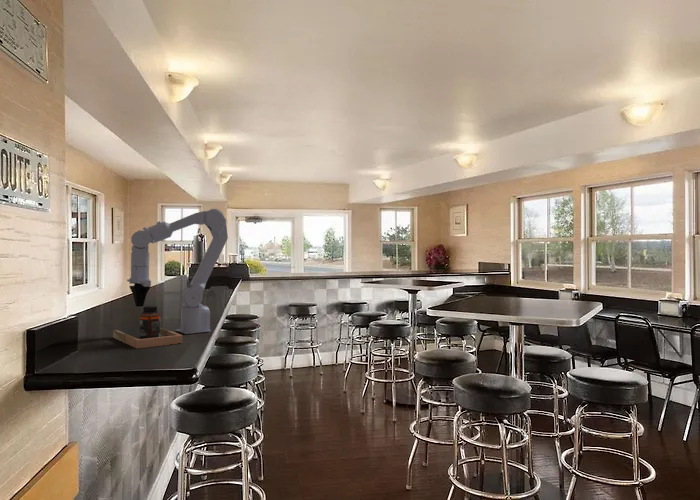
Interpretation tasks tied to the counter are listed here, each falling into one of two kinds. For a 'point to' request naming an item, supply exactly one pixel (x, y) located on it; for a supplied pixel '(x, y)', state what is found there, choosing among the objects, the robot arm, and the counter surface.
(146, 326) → the supplement bottle
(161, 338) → the bay
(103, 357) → the counter surface
